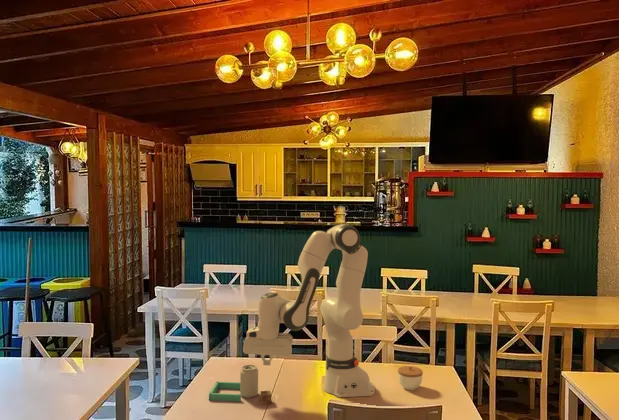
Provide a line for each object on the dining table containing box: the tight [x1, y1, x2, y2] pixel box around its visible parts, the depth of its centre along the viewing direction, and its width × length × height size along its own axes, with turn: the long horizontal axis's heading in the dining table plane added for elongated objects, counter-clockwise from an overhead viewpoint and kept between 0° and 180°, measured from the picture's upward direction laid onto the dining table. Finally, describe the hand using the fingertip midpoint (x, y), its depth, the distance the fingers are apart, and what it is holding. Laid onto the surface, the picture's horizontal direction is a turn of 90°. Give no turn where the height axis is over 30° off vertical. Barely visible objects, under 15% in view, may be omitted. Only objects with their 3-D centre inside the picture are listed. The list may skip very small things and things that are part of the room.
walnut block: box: [259, 390, 272, 406], centre depth 204 cm, size 4×4×4 cm
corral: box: [208, 381, 242, 402], centre depth 212 cm, size 13×13×2 cm
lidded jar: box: [397, 365, 424, 391], centre depth 221 cm, size 11×11×9 cm
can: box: [239, 364, 259, 399], centre depth 211 cm, size 8×8×12 cm
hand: (266, 364), depth 210 cm, fingers closed
